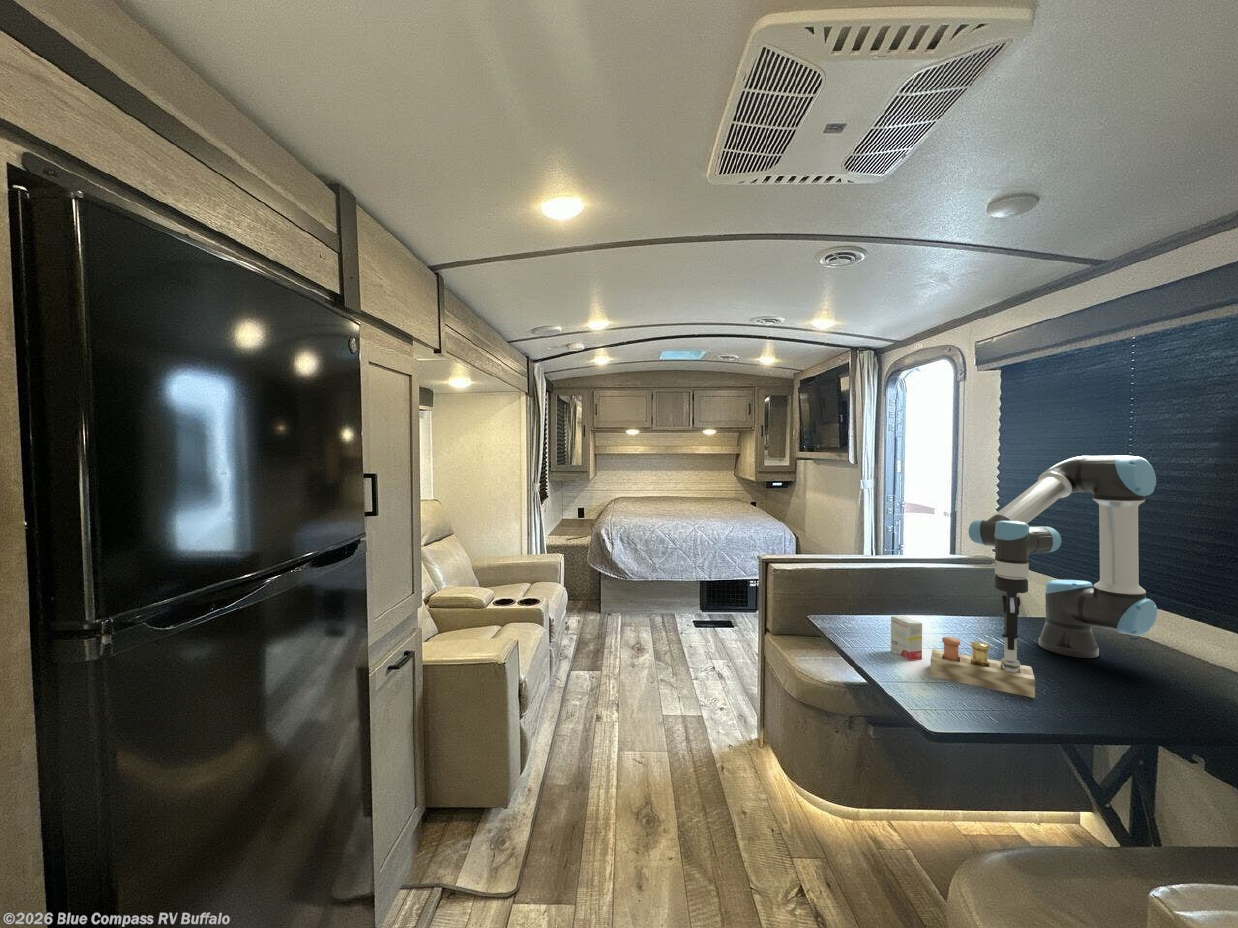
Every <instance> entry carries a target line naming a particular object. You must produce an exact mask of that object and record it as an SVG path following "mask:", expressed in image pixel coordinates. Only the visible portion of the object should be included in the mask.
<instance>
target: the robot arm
mask: <svg viewBox="0 0 1238 928" xmlns="http://www.w3.org/2000/svg"><path fill="white" fill-rule="evenodd" d="M1156 486H1157V477H1156V473H1155V470H1154V467H1153V465H1152V464H1150V463H1149V461H1148V460H1147V459H1146V458H1143V457H1141V456H1134V455H1124V454H1123V455H1122V454H1121V455H1081V456H1079V455H1078V456H1075V457H1071V458H1068V459H1066V460H1063V461H1061V462H1058V463H1056V464H1055V465H1053V466H1052V467H1048V469H1047V470H1044V472H1042V473H1041V474H1040V475H1039V476H1038V477H1037V481H1036V482H1035V483H1034V484H1033V485H1030V487H1029V488H1027V489H1026V490H1024V491H1023V492H1022V493H1021V494H1020V495H1018V496H1017V497H1016V498H1014V499H1013V500H1011V502H1009V503H1008V504H1006V505H1005V506H1004V507H1003V508H1001V509H1000V510H999V511H997V512H996V513H995V514H994V515H992V516H991V517H989V519H987V520H985V519H977V520H973V521H972V522H971V523H970V525H969V526H968V536H969V539H970V540H971V541H972V542H974V543H975V544H980V545H984V546H988V547H994V550H995V551H994V555H995V556H994V562H992V563H991V564H992V567H994V573H995V574H996V575H995V576H994V588H995V589H996V590H997V591H1001V592H1005V593H1004V594H1001V601H1002V609H1003V610H1002V611H1003V613H1004V622H1003V623H1004V625H1003V626H1004V627H1003V630H1004V633H1002V634H1001V637H1002V638H1004V640H1003V641H1004V642H1003V643H1004V646H1003V648H1004V649H1003V650H1004V652H1003V653H1004V654H1003V655H1004V657H1003V658H1004V660H1009V661H1014V662H1017V660H1018V656H1017V655H1018V654H1017V653H1018V652H1017V651H1018V643H1017V642H1018V637H1019V638H1020V634H1019V633H1018V622H1019V620H1018V618H1019V617H1018V616H1019V615H1020V606H1021V598H1020V596H1018V595H1017V594H1025V593H1028V591H1029V579H1027V578H1028V577H1029V572H1030V571H1029V569H1030V568H1029V565H1030V563H1029V555H1034V554H1035V555H1036V554H1037V555H1038V554H1048V553H1052V552H1055V551H1057V550H1058V549H1059V548H1060V547H1061V545H1062V537H1061V535H1060V532H1058V531H1057V530H1056V529H1055V528H1053V527H1051V526H1042V525H1037V526H1032V525H1029V523H1030V522H1031V521H1032V520H1034V519H1035V518H1036V517H1037V516H1039V515H1040V514H1042V512H1043V511H1046V510H1047V509H1049V507H1050V506H1052V505H1053V504H1054V503H1056V501H1058V500H1059V499H1063V498H1066V497H1069V496H1070V495H1071V494H1074V493H1092V501H1094V502H1095V503H1097V504H1098V507H1099V509H1098V510H1099V511H1098V515H1099V517H1098V518H1099V519H1098V520H1099V521H1098V523H1099V528H1098V529H1099V532H1098V533H1099V581H1097V582H1095V583H1094V584H1093V583H1092V582H1091V581H1088V580H1078V579H1053V580H1049V581H1047V583H1046V584H1045V585H1046V586H1045V593H1044V595H1045V623H1044V625H1043V628H1042V631H1041V633H1040V635H1039V637H1038V646H1040V647H1041V648H1042V649H1043V650H1046V651H1048V652H1052V653H1054V654H1055V653H1056V654H1059V655H1063V656H1065V657H1066V656H1067V657H1072V658H1073V657H1074V658H1078V659H1079V658H1082V659H1093V658H1098V657H1099V654H1100V649H1099V647H1098V646H1099V645H1098V644H1097V641H1096V639H1095V635H1094V633H1093V630H1092V629H1093V626H1094V627H1098V628H1102V629H1105V630H1109V631H1113V632H1116V633H1119V634H1126V635H1128V636H1129V635H1130V636H1133V637H1134V636H1135V637H1140V636H1143V635H1145V634H1147V633H1148V632H1149V631H1150V630H1151V629H1152V628H1153V626H1154V624H1155V623H1156V620H1157V615H1158V607H1157V605H1156V603H1155V602H1154V601H1153V600H1152V599H1150V598H1147V591H1146V589H1144V588H1143V587H1142V586H1140V584H1139V583H1140V582H1139V581H1140V580H1139V579H1140V577H1139V570H1140V569H1139V565H1140V564H1139V561H1140V560H1139V559H1140V558H1139V506H1140V505H1141V504H1143V503H1145V501H1146V496H1150V495H1151V494H1153V492H1155V488H1156Z"/></svg>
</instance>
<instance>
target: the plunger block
mask: <svg viewBox="0 0 1238 928" xmlns="http://www.w3.org/2000/svg"><path fill="white" fill-rule="evenodd" d="M930 655H931V656H930V662H929V663H930V665H929V666H930V668H929V669H930V671H929V672H930V674H929V675H930V677H931V678H935V679H940V680H945V681H948V682H949V681H950V682H955V683H961V684H964V685H970V686H974V687H979V688H984V689H990V690H994V691H999V692H1002V693H1003V692H1004V693H1009V694H1013V695H1019V696H1023V697H1028V698H1033V699H1035V698H1036V678H1035V675H1034V672H1033V671H1034V670H1033V668H1032V666H1029V665H1024V664H1023V665H1022V664H1020V667H1019V673H1016V672H1011V671H1005V670H1002V667H1003V664H1001V660H996V659H989V658H988V667H984V666H978V665H973V664H972V658H973V655H966V654H962V653H958V662H957V661H951V660H946V659H944V650H940V649H932V650H931V654H930Z"/></svg>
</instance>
